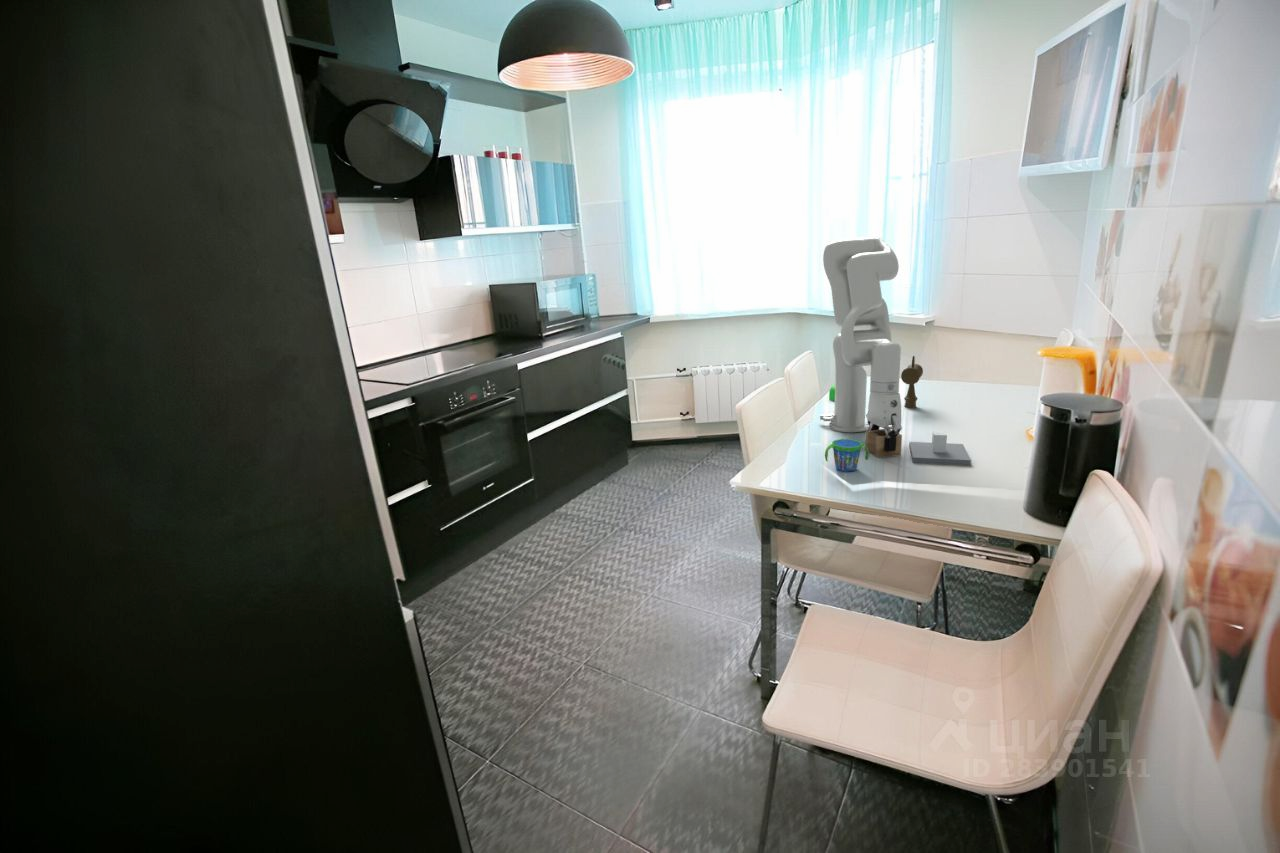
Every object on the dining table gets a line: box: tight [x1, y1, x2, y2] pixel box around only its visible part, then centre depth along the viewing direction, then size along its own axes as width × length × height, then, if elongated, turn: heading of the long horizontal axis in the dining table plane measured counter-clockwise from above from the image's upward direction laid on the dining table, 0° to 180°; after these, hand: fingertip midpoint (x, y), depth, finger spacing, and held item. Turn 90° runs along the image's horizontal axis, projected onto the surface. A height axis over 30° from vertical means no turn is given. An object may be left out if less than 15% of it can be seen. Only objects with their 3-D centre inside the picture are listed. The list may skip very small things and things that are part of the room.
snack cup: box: [824, 438, 870, 473], centre depth 157 cm, size 11×8×7 cm
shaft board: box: [908, 431, 972, 466], centre depth 162 cm, size 14×14×6 cm
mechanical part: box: [828, 384, 835, 402], centre depth 220 cm, size 12×6×8 cm, turn 120°
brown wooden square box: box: [864, 428, 903, 459], centre depth 167 cm, size 7×7×6 cm
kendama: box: [900, 355, 924, 409], centre depth 204 cm, size 6×10×20 cm, turn 147°
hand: (882, 446), depth 167 cm, fingers closed on brown wooden square box, 7 cm apart
